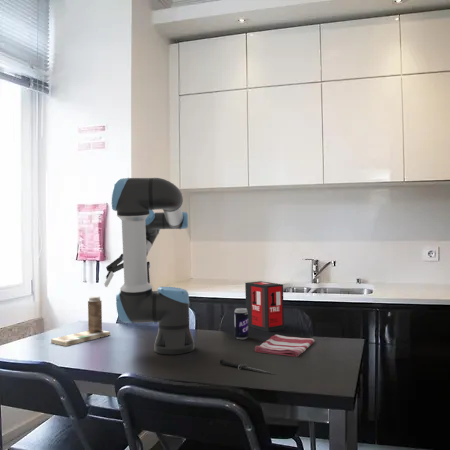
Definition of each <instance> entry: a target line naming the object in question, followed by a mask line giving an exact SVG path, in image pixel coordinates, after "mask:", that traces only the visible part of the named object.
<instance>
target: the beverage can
mask: <svg viewBox="0 0 450 450" xmlns="http://www.w3.org/2000/svg"><path fill="white" fill-rule="evenodd" d="M233 313H234V314H233V315H234V316H233V318H234V319H233V321H234V322H233V323H234V324H233V325H234V338H236V339H237V340H246V339H247V338H248V337H249V326H248V311H247V309H246V307H245V308H244V307H237V308H235V309H234V312H233Z"/></svg>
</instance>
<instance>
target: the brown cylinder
mask: <svg viewBox="0 0 450 450" xmlns="http://www.w3.org/2000/svg"><path fill="white" fill-rule="evenodd" d="M102 308H103V307H102V300H101V296H89V297H88V301H87V311H88V312H87V319H88V328H87V329H88V331H89V332H93V333H96V332H103V331H102V330H103V319H102V317H103V314H102V312H103V311H102V310H103V309H102Z"/></svg>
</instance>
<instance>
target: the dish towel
mask: <svg viewBox="0 0 450 450" xmlns="http://www.w3.org/2000/svg"><path fill="white" fill-rule="evenodd" d="M315 342H316V340H315V338H309V337H298V336H297V337H296V336H285V335H280V334H274V335H272V336H270V337H269V338H268V339H267V340H265V341H263V342H262V343H261V344H260V345H256V346H255V347H254V352H255V353H262V354H270V355H279V356H289V357H295V358H297V357H299V356H300V355H301V354H302V353H304V352H305V351H306V350H307V349H308V348H309V347H310V346H312V345H313V344H314V343H315Z"/></svg>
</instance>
